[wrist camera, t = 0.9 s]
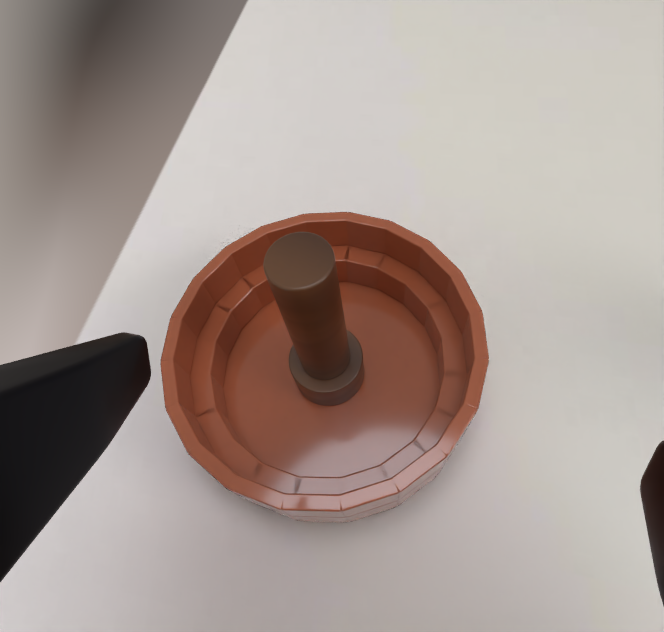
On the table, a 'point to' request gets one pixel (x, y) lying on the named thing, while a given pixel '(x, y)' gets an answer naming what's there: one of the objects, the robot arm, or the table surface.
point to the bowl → (313, 419)
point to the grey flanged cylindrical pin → (314, 318)
